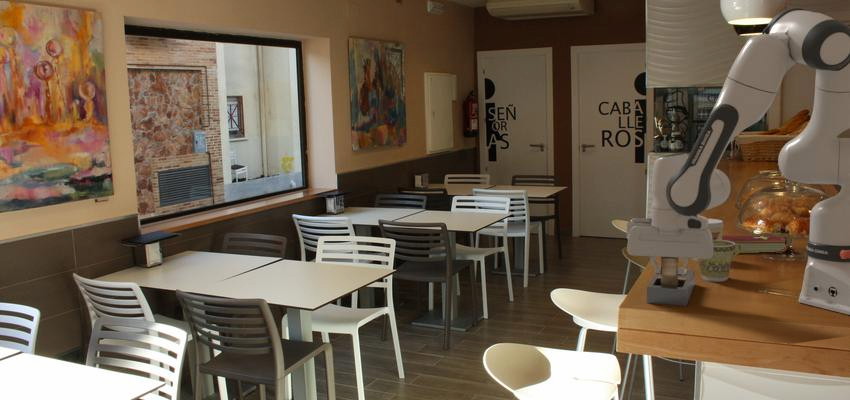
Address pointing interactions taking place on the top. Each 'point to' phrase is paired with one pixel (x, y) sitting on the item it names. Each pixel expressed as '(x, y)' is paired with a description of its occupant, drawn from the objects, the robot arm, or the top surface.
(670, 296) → the grey slotted box
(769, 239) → the hardcover book
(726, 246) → the ceramic cup
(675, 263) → the peg
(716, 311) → the top surface
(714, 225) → the coffee cup
